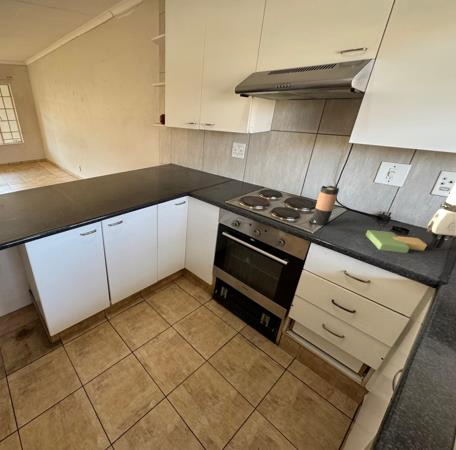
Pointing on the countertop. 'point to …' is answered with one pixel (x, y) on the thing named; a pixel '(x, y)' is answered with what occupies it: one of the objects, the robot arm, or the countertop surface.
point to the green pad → (387, 241)
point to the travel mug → (325, 204)
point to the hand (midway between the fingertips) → (434, 246)
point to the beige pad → (412, 242)
